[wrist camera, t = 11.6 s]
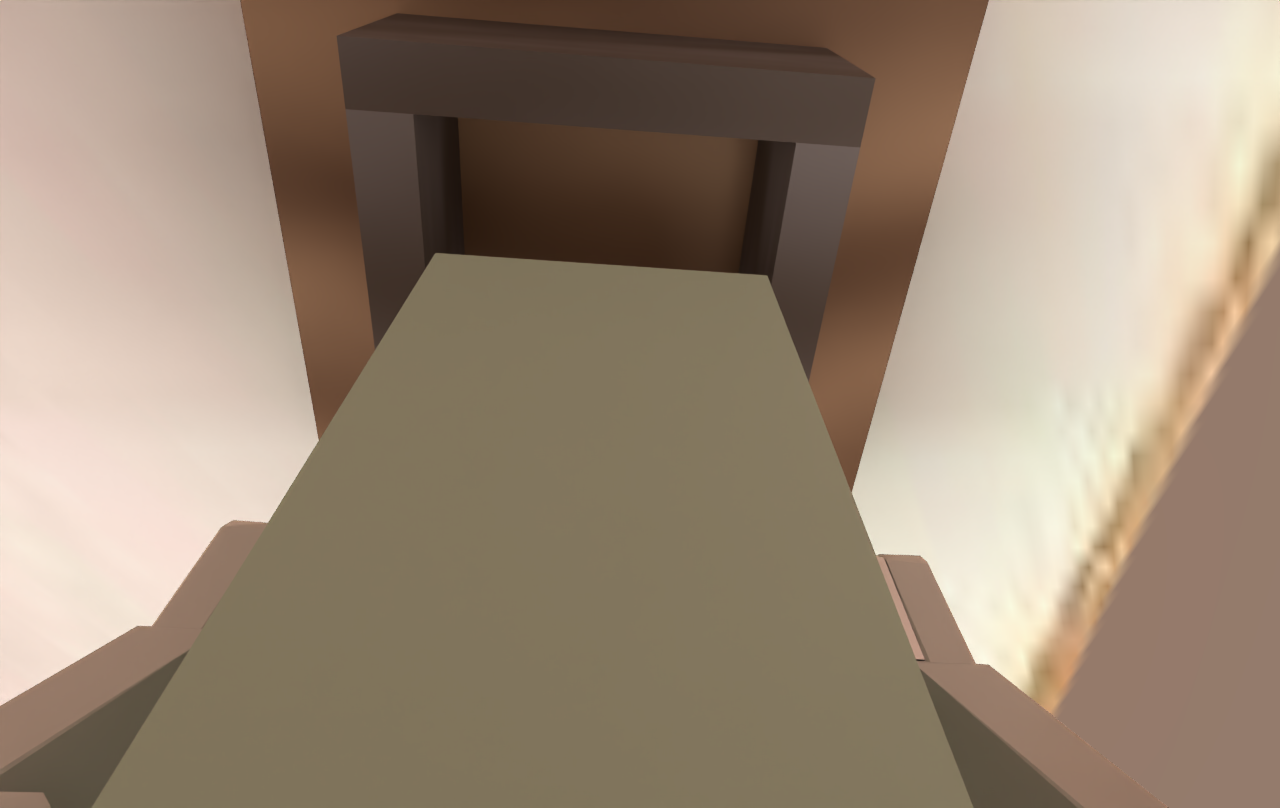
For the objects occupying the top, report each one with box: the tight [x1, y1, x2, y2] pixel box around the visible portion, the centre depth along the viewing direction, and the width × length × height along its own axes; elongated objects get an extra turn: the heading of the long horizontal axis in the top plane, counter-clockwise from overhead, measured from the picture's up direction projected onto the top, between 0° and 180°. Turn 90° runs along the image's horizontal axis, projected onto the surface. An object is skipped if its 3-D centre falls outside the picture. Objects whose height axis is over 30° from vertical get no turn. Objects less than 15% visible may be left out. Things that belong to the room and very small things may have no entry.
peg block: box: [92, 253, 973, 808], centre depth 9 cm, size 5×5×10 cm
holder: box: [240, 0, 989, 492], centre depth 18 cm, size 16×16×6 cm
